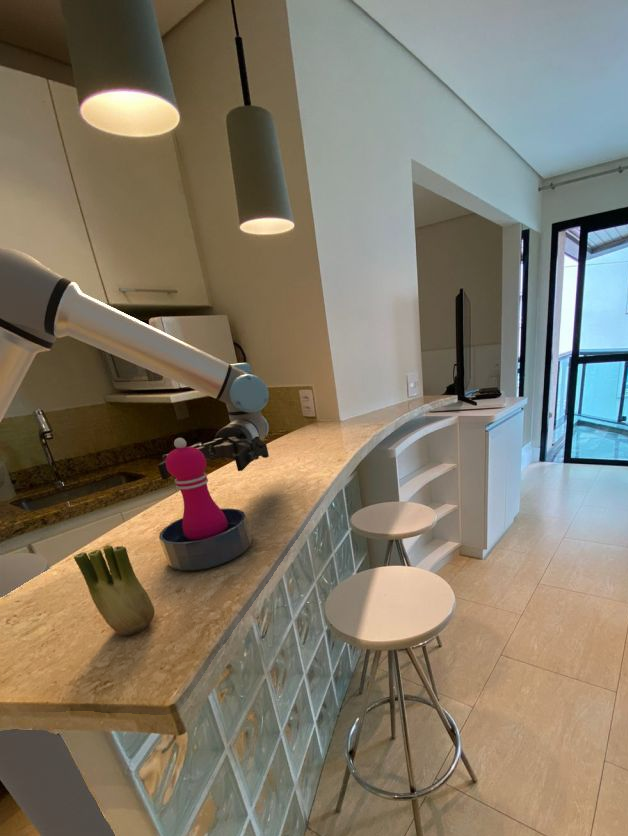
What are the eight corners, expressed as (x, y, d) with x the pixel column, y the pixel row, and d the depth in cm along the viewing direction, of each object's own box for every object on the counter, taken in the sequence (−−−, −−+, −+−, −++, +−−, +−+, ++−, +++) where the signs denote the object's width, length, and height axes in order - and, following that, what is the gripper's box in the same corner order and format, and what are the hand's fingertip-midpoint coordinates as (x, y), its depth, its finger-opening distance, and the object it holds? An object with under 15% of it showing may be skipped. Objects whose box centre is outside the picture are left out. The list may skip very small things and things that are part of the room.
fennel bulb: (102, 636, 53) (64, 556, 48) (134, 613, 57) (102, 537, 53) (136, 642, 51) (100, 559, 46) (166, 617, 55) (135, 539, 51)
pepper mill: (209, 538, 77) (177, 433, 69) (241, 540, 75) (212, 431, 67) (181, 557, 71) (142, 444, 63) (215, 560, 68) (179, 443, 60)
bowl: (151, 565, 70) (141, 537, 68) (215, 530, 81) (208, 505, 79) (207, 579, 64) (197, 548, 62) (268, 539, 75) (261, 512, 73)
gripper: (295, 450, 92) (274, 480, 73) (187, 462, 93) (137, 495, 73) (288, 417, 89) (265, 439, 70) (177, 429, 90) (122, 455, 70)
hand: (199, 467), depth 72 cm, fingers open, 13 cm apart
